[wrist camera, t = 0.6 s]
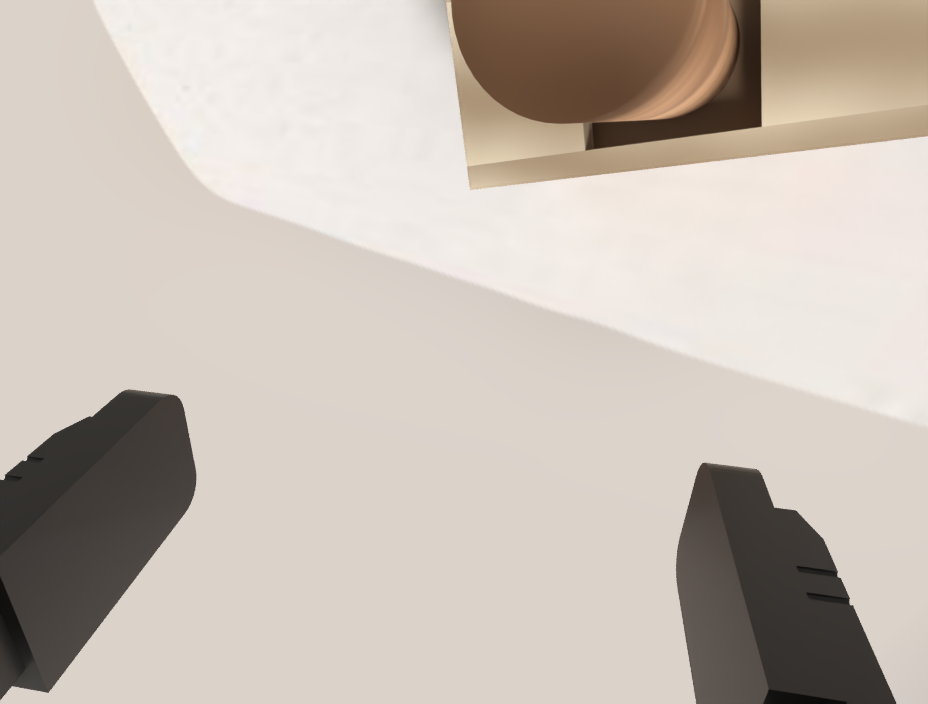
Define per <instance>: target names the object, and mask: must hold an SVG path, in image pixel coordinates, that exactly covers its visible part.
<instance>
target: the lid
mask: <svg viewBox="0 0 928 704" xmlns="http://www.w3.org/2000/svg"><path fill="white" fill-rule="evenodd" d="M446 6H447V13H448V21H449V29H450V37H451V45H452V52H453V60H454V68H455V76H456V83H457V91H458V99H459V107H460V115H461V122H462V130H463V138H464V146H465V153H466V161H467V169H468V177H469V185H470V190H473V189H481V188H490V187H498V186H507V185H515V184H524V183H532V182H541V181H549V180H558V179H566V178H575V177H583V176H592V175H600V174H609V173H617V172H626V171H634V170H643V169H651V168H660V167H668V166H677V165H686V164H694V163H703V162H711V161H720V160H728V159H737V158H745V157H754V156H762V155H771V154H779V153H788V152H796V151H805V150H813V149H822V148H830V147H839V146H847V145H856V144H864V143H873V142H881V141H890V140H898V139H907V138H916V137H924V136H928V0H761V89H762V126H761V127H753V128H746V129H739V130H731V131H724V132H716V133H709V134H701V135H694V136H686V137H679V138H672V139H664V140H657V141H649V142H642V143H634V144H627V145H620V146H612V147H605V148H597V149H594V142H593V129H592V123H572V124H554V123H544V122H539V121H534V120H531V119H528V118H525V117H522V116H520V115H517V114H516V113H514V112H512V111H510V110H508V109H506V108H505V107H503V106H502V105H501V104H499V103H498V102H497V101H495V100H494V99H493V98H492V97H491V96H490V95H489V94H488V93H487V92H486V91H485V90H484V89H483V88H482V87H481V85H480V84H479V83H478V82H477V80H476V79H475V78H474V76H473V74H472V73H471V71H470V69H469V68H468V66H467V64H466V62H465V60H464V58H463V55H462V53H461V51H460V48H459V45H458V41H457V38H456V35H455V30H454V25H453V19H452V8H451V0H446Z"/></svg>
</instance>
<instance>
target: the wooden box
mask: <svg viewBox="0 0 928 704" xmlns="http://www.w3.org/2000/svg"><path fill="white" fill-rule="evenodd" d="M729 1H730V3H731V6H732V8H733V10H734V13H735V15H736V18H737V21H738V26H739V31H740V49H739V54H738V59H737V62H736V66H735V68H734V70H733V73H732V75H731V77H730V79H729V80H728V82H727V84H726V85H725V86H724V88H723V89H722V90H721V92H720V93H719V94H718V95H717V96H716V97H715V98H714V99H713V100H712V101H711V102H709V103H708V104H707V105H705V106H704V107H702V108H701V109H699V110H697V111H695V112H693V113H691V114H689V115H686V116H683V117H679V118H674V119H660V120H638V121H616V122H594V123H592V129H593V142H594V149H597V148H605V147H612V146H620V145H627V144H634V143H642V142H649V141H657V140H664V139H672V138H679V137H686V136H694V135H701V134H709V133H716V132H724V131H731V130H739V129H746V128H753V127H761V126H762V89H761V0H729Z"/></svg>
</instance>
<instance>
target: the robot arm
mask: <svg viewBox="0 0 928 704" xmlns="http://www.w3.org/2000/svg"><path fill="white" fill-rule="evenodd" d="M27 457H28V458H27V461H21V462H20V463H19V464H18V465H16V466H15V467H14V468H13V469H12V470H10V471H9V472H8V473H7V474H6V475H5V479H4V480H0V700H1V699H2V697H3V696H4V695H5V694H6V692H7V691H8V690H9V689H10V688H11V686H15V687H20V688H26V689H31V690H37V691H42V692H47V693H49V691H50V690H51V689H52V687H53V686H54V685H55V683H56V682H57V680H58V679H59V678H60V677H61V675H62V674H63V673H64V671H65V670H66V669H67V668H68V666H69V665H70V664H71V662H72V661H73V660H74V658H75V657H76V656H77V654H78V653H79V652H80V651H81V649H82V648H83V646H84V645H85V644H86V643H87V641H88V640H89V639H90V637H91V636H92V635H93V633H94V632H95V631H96V629H97V628H98V627H99V626H100V624H101V623H102V622H103V620H104V619H105V618H106V616H107V615H108V614H109V612H110V611H111V610H112V608H113V607H114V606H115V604H116V603H117V602H118V600H119V599H120V598H121V596H122V595H123V594H124V592H125V591H126V590H127V589H128V587H129V586H130V585H131V583H132V582H133V581H134V580H135V578H136V577H137V575H138V574H139V573H140V572H141V570H142V569H143V567H144V566H145V565H146V564H147V562H148V561H149V560H150V558H151V557H152V556H153V554H154V553H155V552H156V551H157V549H158V548H159V547H160V545H161V544H162V543H163V541H164V540H165V539H166V537H167V536H168V535H169V533H170V532H171V531H172V529H173V528H174V527H175V526H176V524H177V523H178V521H179V520H180V519H181V518H182V516H183V515H184V514H185V512H186V511H187V509H188V508H189V506H190V504H191V501H192V498H193V496H194V491H195V487H196V469H195V464H194V459H193V454H192V448H191V443H190V438H189V433H188V428H187V422H186V417H185V412H184V408H183V404H182V402H181V401H180V399H179V398H178V397H177V396H175V395H169V394H161V393H153V392H145V391H136V390H125V391H123V392H121V393H119V394H118V395H117V396H116V397H115V398H114V399H112V400H111V401H110V402H109V403H108V404H107V405H106V406H104V407H103V408H102V409H101V410H100V411H99V412H97V413H96V414H95V415H94V416H93V417H87V418H85V419H83V420H81V421H79V422H77V423H75V424H73V425H71V426H69V427H67V428H65V429H63V430H61V431H59V432H57V433H55V434H53V435H52V436H51V437H50V438H49V439H47V440H46V441H45V442H44V443H43V444H41V445H40V446H39V447H38V448H37V449H35V450H34V451H33V452H32V453H31V454H29V455H28V456H27ZM837 572H838V571H837V569H836V566H835V564H834V562H833V560H832V558H831V555H830V553H829V551H828V548H827V546H826V544H825V542H824V540H823V538H822V537H821V536H820V535H819V534H818V533H817V532H816V531H815V530H814V529H813V528H812V527H811V526H810V525H809V524H808V523H807V522H806V521H805V520H804V519H803V518H802V516H801V515H800V514H799V513H798V512H797V511H795V510H788V509H780V508H774V506H773V503H772V501H771V498H770V496H769V493H768V490H767V487H766V485H765V482H764V479H763V477H762V475H761V473H760V472H759V471H758V470H757V469H750V468H742V467H734V466H726V465H718V464H709V463H702V465H701V466H700V468H699V470H698V472H697V476H696V479H695V483H694V487H693V490H692V494H691V498H690V502H689V506H688V509H687V513H686V517H685V520H684V524H683V528H682V532H681V536H680V540H679V544H678V550H677V562H676V578H677V587H678V593H679V599H680V606H681V611H682V617H683V624H684V630H685V636H686V642H687V649H688V655H689V661H690V667H691V673H692V679H693V685H694V691H695V698H696V704H896V701H895V699H894V697H893V695H892V692H891V690H890V688H889V686H888V684H887V681H886V679H885V677H884V675H883V672H882V670H881V668H880V665H879V663H878V661H877V659H876V656H875V655H874V652H873V650H872V648H871V645H870V643H869V641H868V639H867V636H866V634H865V632H864V630H863V627H862V625H861V623H860V620H859V618H858V616H857V614H856V612H855V609H854V607H853V606H851V605H850V604H849V599H850V598H849V596H848V594H847V591H846V589H845V587H844V584H843V582H842V580H841V578H838V577H837Z"/></svg>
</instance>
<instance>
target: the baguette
mask: <svg viewBox="0 0 928 704" xmlns="http://www.w3.org/2000/svg"><path fill="white" fill-rule="evenodd" d="M451 8H452V19H453V25H454V30H455V35H456V38H457V41H458V45H459V48H460V51H461V53H462V55H463V58H464V60H465V62H466V64H467V66H468V68H469V69H470V71H471V73H472V74H473V76H474V78H475V79H476V80H477V82H478V83H479V84H480V85H481V87H482V88H483V89H484V90H485V91H486V92H487V93H488V94H489V95H490V96H491V97H492V98H493V99H494V100H495V101H497V102H498V103H499V104H501V105H502V106H503V107H505V108H506V109H508V110H510V111H512V112H514V113H516V114H517V115H520V116H522V117H525V118H528V119H531V120H534V121H539V122H544V123H554V124H572V123H594V122H616V121H638V120H660V119H674V118H679V117H683V116H686V115H689V114H691V113H693V112H695V111H697V110H699V109H701V108H702V107H704V106H705V105H707V104H708V103H709V102H711V101H712V100H713V99H714V98H715V97H716V96H717V95H718V94H719V93H720V92H721V90H722V89H723V88H724V86H725V85H726V84H727V82H728V80H729V79H730V77H731V75H732V73H733V70H734V68H735V66H736V62H737V59H738V54H739V49H740V31H739V26H738V21H737V18H736V15H735V13H734V10H733V8H732V6H731V3H730V1H729V0H451Z"/></svg>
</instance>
